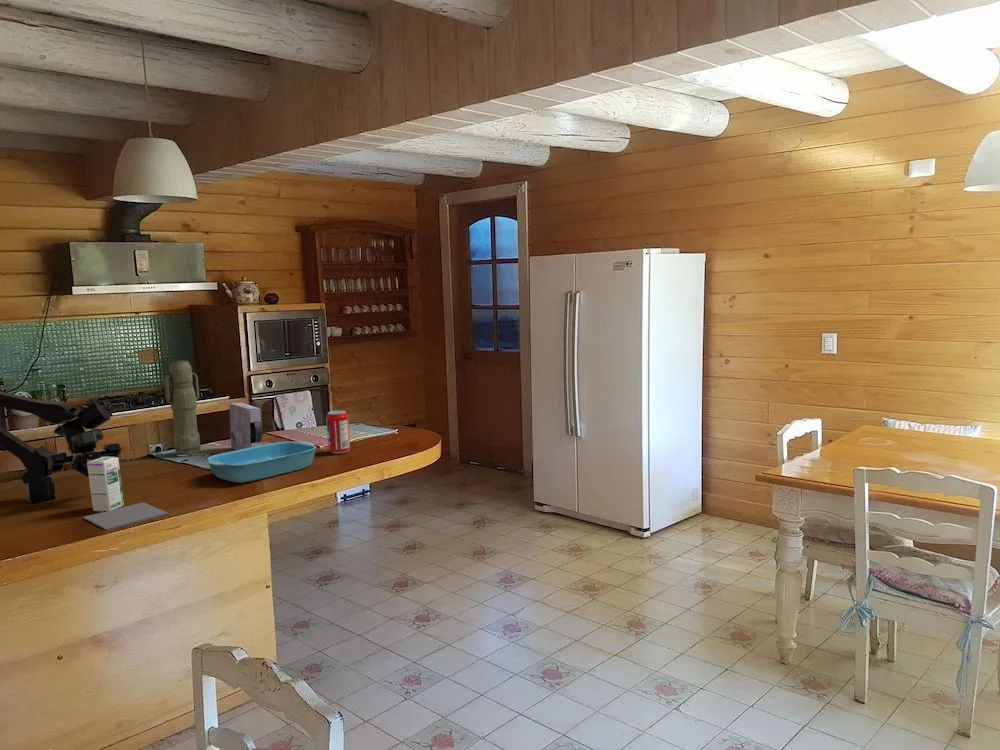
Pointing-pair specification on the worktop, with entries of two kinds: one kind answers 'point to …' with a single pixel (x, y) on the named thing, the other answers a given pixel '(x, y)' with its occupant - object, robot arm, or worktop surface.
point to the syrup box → (105, 483)
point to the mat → (125, 516)
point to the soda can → (338, 432)
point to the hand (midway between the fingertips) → (95, 479)
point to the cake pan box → (245, 426)
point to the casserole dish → (262, 461)
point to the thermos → (183, 406)
